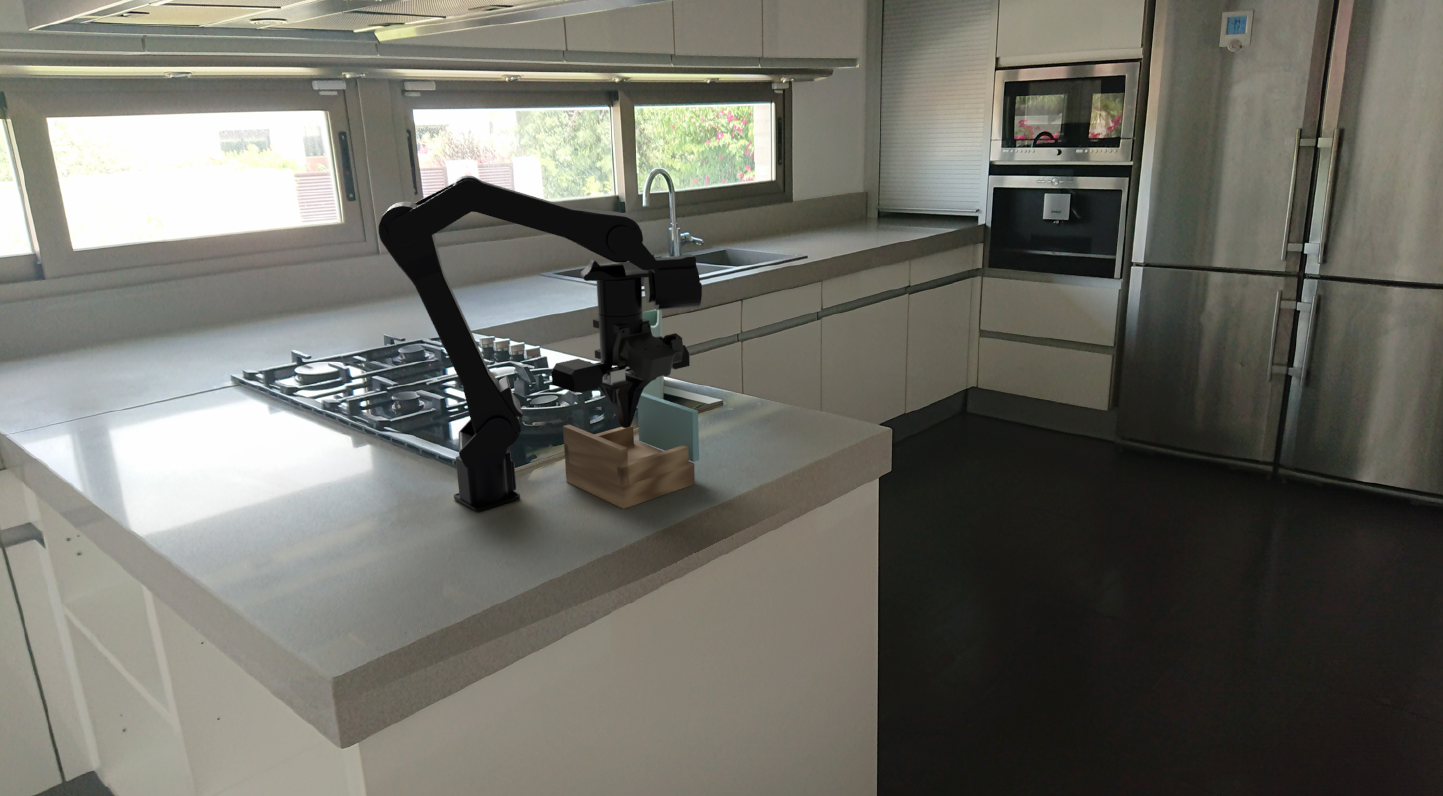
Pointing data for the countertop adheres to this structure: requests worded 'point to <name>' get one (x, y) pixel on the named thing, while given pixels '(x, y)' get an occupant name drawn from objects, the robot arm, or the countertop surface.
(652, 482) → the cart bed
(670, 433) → the panel
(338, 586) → the countertop surface
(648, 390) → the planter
